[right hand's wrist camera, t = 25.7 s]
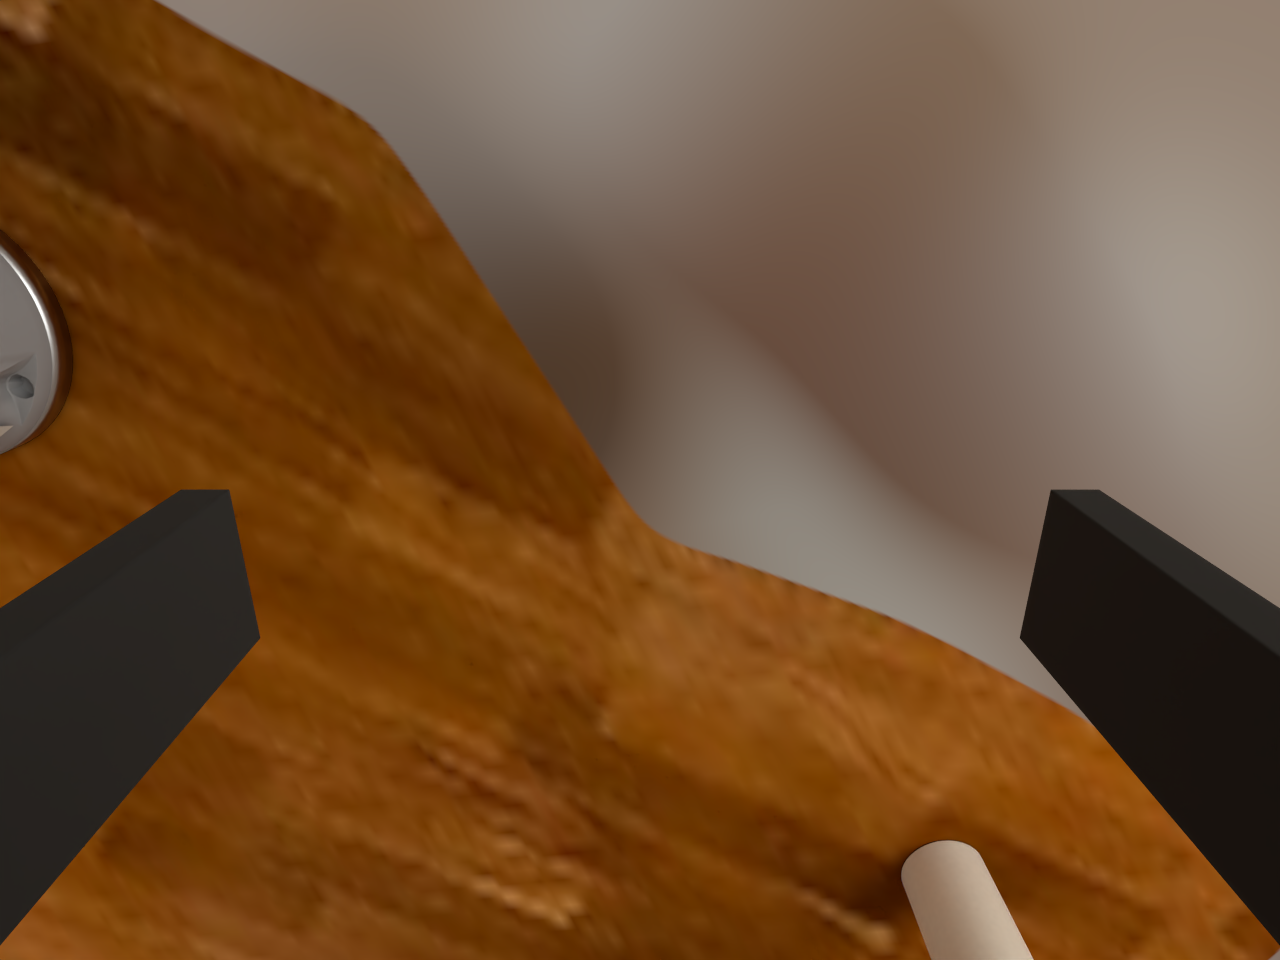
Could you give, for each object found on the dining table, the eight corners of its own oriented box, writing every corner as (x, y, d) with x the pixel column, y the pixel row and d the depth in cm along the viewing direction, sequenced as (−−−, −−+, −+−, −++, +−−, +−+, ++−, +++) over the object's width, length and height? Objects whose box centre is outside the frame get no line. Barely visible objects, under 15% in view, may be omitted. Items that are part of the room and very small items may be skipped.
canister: (892, 896, 60) (950, 1060, 49) (912, 836, 57) (978, 993, 46) (969, 904, 60) (1045, 1068, 49) (993, 844, 58) (1078, 1001, 47)
